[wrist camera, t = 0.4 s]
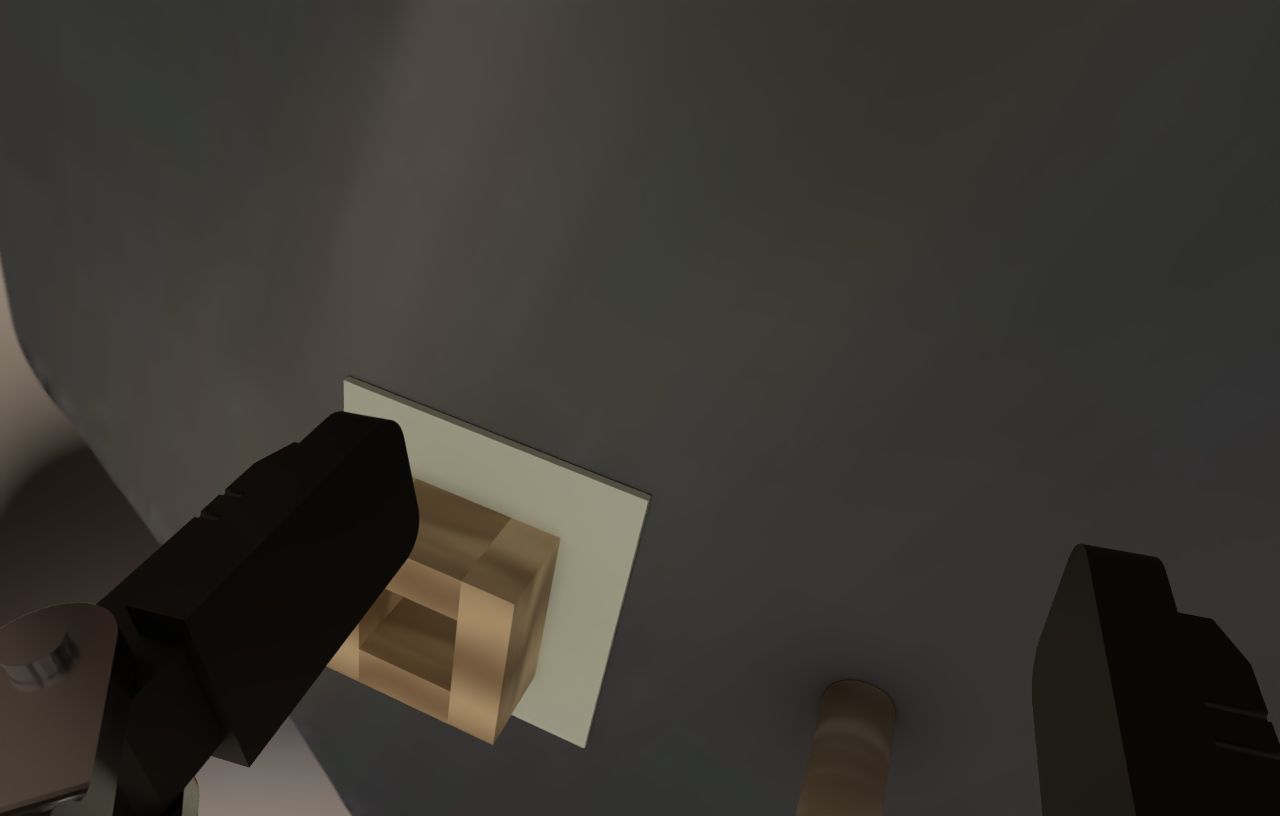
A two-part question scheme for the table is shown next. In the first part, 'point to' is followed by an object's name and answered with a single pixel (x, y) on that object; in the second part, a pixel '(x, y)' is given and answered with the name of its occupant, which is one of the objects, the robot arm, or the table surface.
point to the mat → (552, 502)
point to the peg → (849, 752)
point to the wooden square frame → (458, 616)
